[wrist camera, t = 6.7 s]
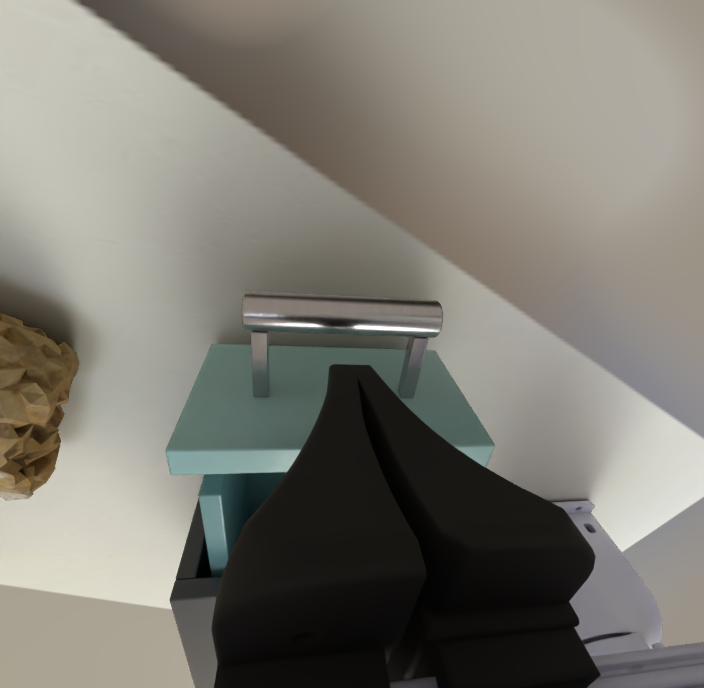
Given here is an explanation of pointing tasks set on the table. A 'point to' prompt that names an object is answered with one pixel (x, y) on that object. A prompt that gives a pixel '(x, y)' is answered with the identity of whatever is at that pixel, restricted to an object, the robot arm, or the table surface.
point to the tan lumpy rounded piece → (30, 405)
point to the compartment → (196, 605)
